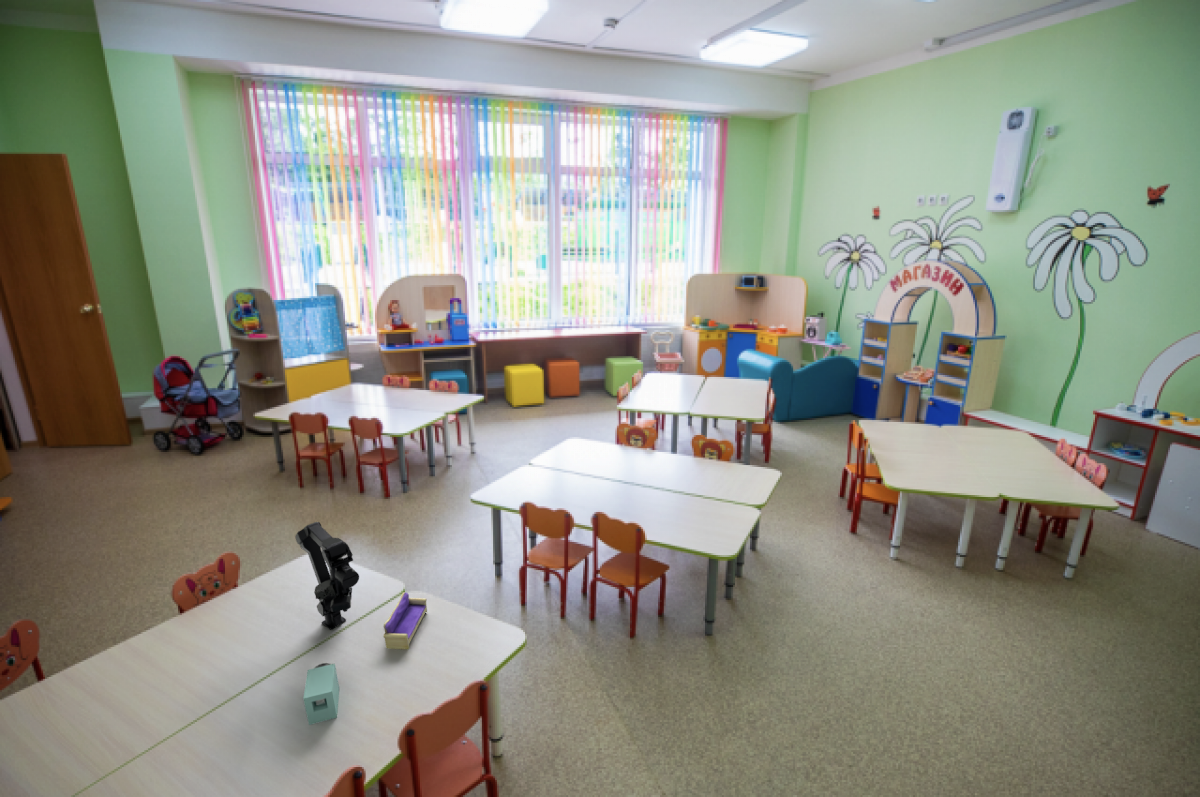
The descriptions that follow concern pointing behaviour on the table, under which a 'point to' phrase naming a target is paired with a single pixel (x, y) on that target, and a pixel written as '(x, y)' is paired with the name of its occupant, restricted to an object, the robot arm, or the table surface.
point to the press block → (321, 694)
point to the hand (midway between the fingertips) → (345, 611)
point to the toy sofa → (404, 621)
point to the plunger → (325, 698)
